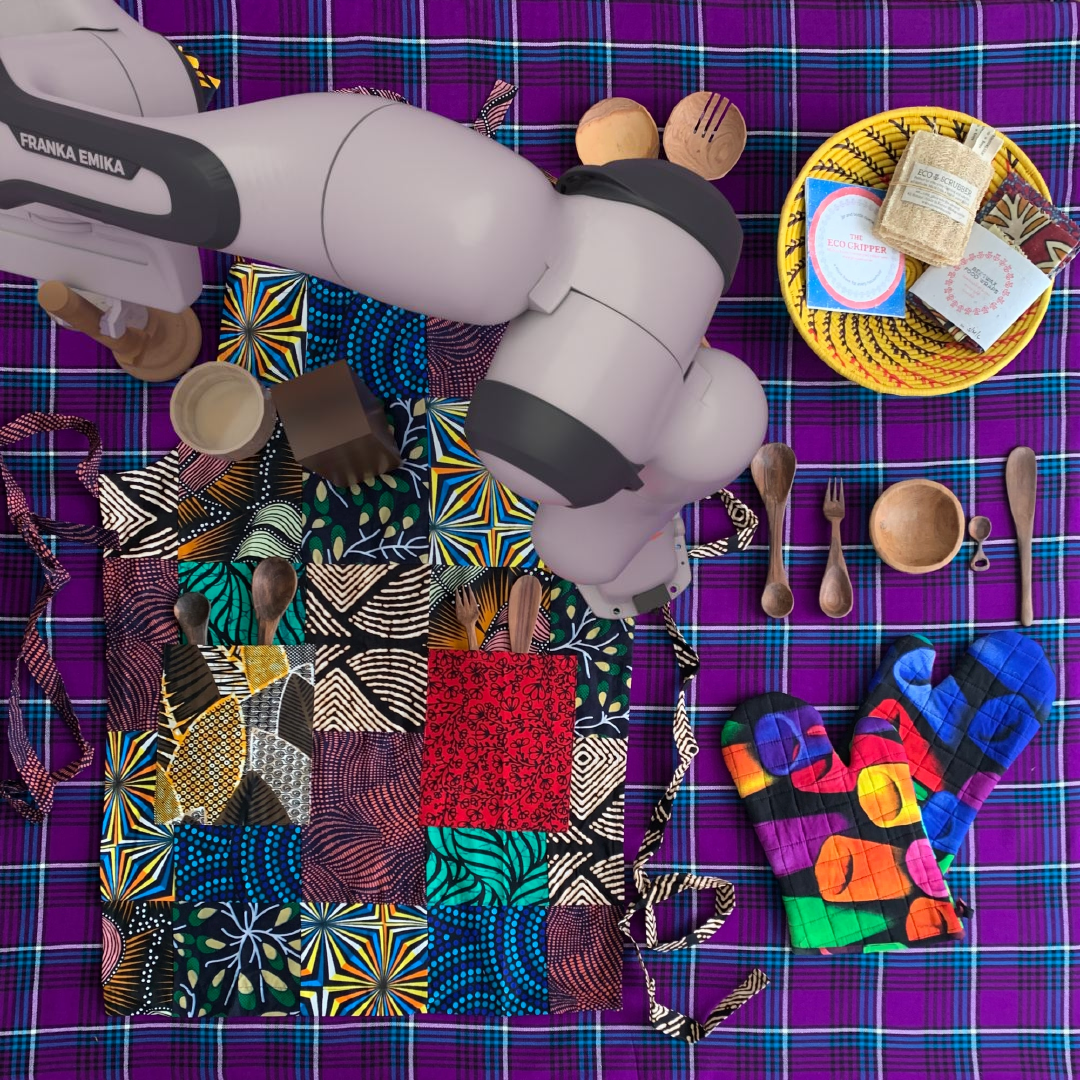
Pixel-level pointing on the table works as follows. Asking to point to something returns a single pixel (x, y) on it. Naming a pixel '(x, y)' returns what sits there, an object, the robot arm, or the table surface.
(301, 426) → the stand
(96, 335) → the stick
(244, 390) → the bowl
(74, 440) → the table surface
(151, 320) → the candle holder
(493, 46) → the table surface
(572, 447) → the robot arm
